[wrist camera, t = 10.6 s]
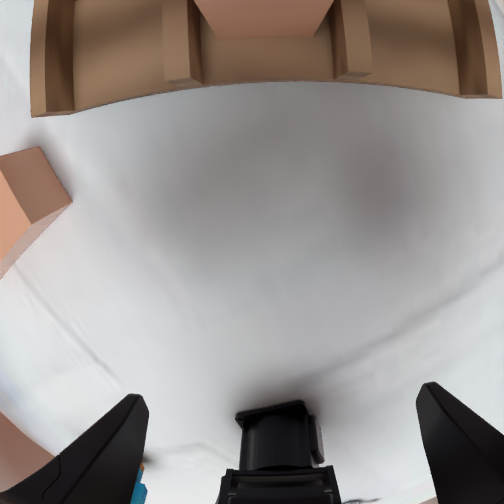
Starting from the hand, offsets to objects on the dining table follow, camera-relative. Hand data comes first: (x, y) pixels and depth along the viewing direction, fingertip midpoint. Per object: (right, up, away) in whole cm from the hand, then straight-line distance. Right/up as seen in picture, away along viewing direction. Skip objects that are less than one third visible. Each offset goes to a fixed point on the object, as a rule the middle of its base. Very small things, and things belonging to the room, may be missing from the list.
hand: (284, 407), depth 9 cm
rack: (0, +18, +5) cm, 19 cm away
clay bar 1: (-20, +7, +11) cm, 24 cm away
